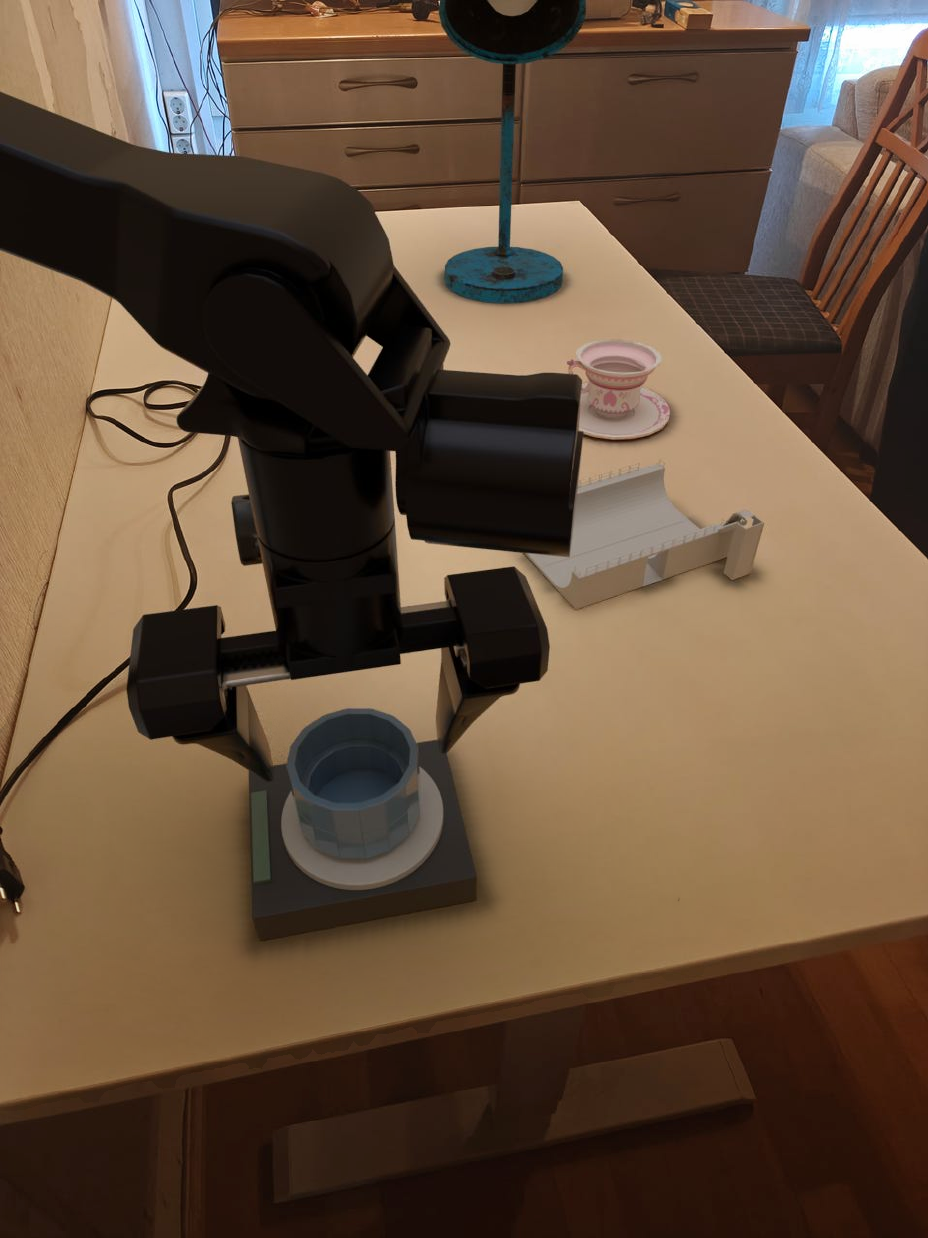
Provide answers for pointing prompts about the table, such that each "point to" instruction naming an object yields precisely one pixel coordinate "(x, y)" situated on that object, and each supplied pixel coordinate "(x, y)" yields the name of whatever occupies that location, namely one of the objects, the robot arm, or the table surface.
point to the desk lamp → (508, 134)
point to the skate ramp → (640, 539)
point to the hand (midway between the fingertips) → (357, 760)
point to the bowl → (355, 782)
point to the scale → (356, 860)
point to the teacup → (619, 390)
